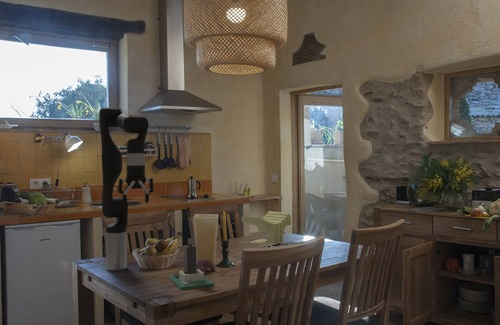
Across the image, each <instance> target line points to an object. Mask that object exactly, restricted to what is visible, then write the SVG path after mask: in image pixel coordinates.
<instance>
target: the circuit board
mask: <svg viewBox="0 0 500 325" xmlns="http://www.w3.org/2000/svg"><path fill="white" fill-rule="evenodd" d="M204 274H205V273H204V271H203V272H202V271H200V270H199V269H197V273H194V274H185V273H184V270H179V271H178V273H173V274H169V275H167V278H168V279H169V280H170V281H171V282H172V283H173V284H174V285H175V286H176V287H177V288H178V289H179V290H180V291H181V290H188V289H196V288H197V289H199V288H207V287H213V286H215V283H214V282H213V281H212V280H210V279H209V278H208V277H206V276H205V275H204Z"/></svg>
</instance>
